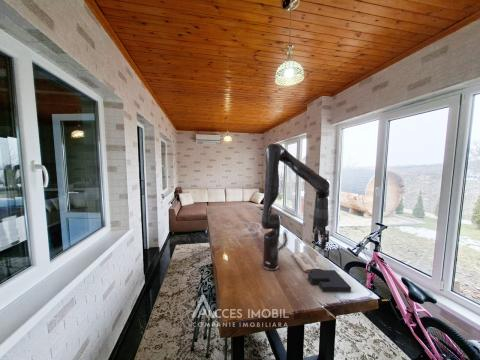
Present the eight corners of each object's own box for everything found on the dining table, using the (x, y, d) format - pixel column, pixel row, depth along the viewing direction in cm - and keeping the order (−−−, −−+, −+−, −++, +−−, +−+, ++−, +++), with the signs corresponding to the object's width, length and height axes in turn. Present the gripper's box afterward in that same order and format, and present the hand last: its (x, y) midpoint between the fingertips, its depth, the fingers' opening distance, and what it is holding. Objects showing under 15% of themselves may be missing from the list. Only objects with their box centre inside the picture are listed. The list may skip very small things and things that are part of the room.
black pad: (308, 279, 106) (308, 273, 106) (324, 279, 106) (324, 273, 106) (311, 284, 101) (311, 278, 101) (328, 284, 101) (328, 278, 101)
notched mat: (310, 274, 111) (310, 269, 111) (334, 274, 111) (334, 270, 111) (323, 291, 95) (323, 286, 95) (350, 291, 95) (351, 287, 95)
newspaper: (324, 271, 114) (324, 267, 114) (304, 274, 113) (304, 270, 113) (308, 254, 137) (308, 250, 136) (291, 256, 136) (291, 252, 136)
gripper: (309, 212, 109) (307, 240, 110) (320, 219, 95) (318, 251, 96) (321, 212, 109) (320, 240, 111) (335, 219, 95) (333, 251, 96)
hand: (319, 245), depth 103 cm, fingers open, 8 cm apart
